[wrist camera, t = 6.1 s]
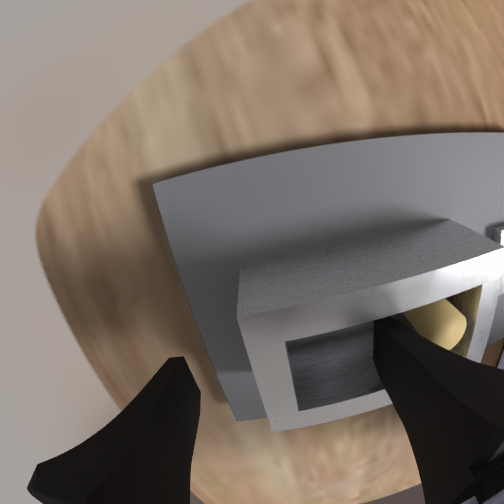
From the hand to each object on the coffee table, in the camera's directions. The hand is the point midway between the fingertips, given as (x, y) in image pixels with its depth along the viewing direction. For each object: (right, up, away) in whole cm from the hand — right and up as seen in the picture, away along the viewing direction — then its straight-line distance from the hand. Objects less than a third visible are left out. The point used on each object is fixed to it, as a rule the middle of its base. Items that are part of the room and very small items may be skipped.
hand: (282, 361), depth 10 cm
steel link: (+4, +2, +2) cm, 5 cm away
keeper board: (+6, +3, +4) cm, 8 cm away
